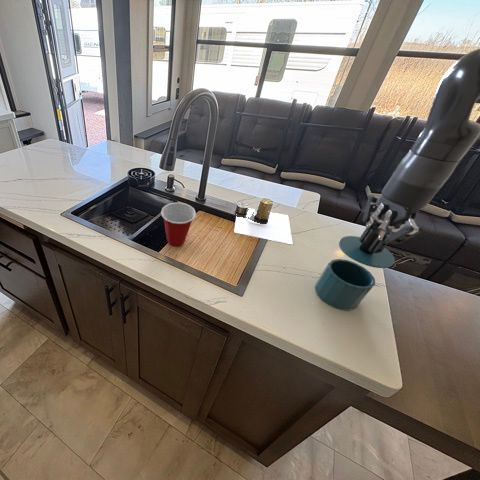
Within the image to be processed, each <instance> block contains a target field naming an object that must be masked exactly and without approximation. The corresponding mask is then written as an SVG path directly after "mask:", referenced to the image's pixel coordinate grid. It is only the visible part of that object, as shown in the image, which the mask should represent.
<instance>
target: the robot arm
mask: <svg viewBox="0 0 480 480" xmlns="http://www.w3.org/2000/svg"><path fill="white" fill-rule="evenodd" d="M476 104H480V48H476V49H474V50H472V51H470V52H468V53H466V54H464V55H462V56H461V57H460V58H459V59H458V60H457V61H455V62H454V63H453V64H452V65H451V66H450V67H449V69H448V70H447V71H446V72H445V73H444V75H443V76H442V78H441V80H440V82H439V84H438V86H437V88H436V91H435V95H434V97H433V101H432V104H431V107H430V110H429V113H428V115H427V119H426V123H425V126H424V128H423V129H422V131H421V132H420V133H419V136H418V137H417V139H416V140H415V142H414V143H413V144H412V146H411V148H410V149H409V150H408V152H407V153H406V155H405V156H404V157H403V158H402V159H401V161H400V162H399V164H398V165H397V167H396V168H395V170H394V171H393V173H392V174H391V176H390V177H389V179H388V181H387V182H386V184H384V187H383V188H382V190H381V195H380V196H376V195H375V196H373V195H372V196H371V195H370V196H369V197H368V198H367V201H366V204H365V209H364V214H363V217H362V222H363V223H366V224H365V229H364V230H363V232H362V234H361V235H360V236H359V237H360V240H359V241H360V242H361V243H362V242H363V241H364V239H365V238H366V236H367V235H368V233H369V232H370V230H371V229H372V228H379V229H381V232H380V234H379V236H378V238H376V239H375V241H374V242H373V244H372V245H371V246H370V248H369V249H368V251H369V252H370V253H380V252H382V251H383V249H384V248H386V247H387V246H388V244H392V245H399V244H403V243H404V242H406V241H408V240H410V239H412V238H413V237H415V236H417V235H420V233H423V230H424V228H423V227H422V226H420V225H419V226H417V223H416V221H415V220H416V218H417V217H418V216H417V215H418V212H419V211H421V209H423V208H426V207H427V206H428V205H429V203H430V202H431V201H432V200H433V199H434V197H435V196H436V194H437V193H438V192H440V190H441V188H442V187H443V186H444V184H445V183H446V182H447V181H448V180H449V178H450V177H451V176H452V174H453V173H454V171H455V169H456V168H457V166H458V164H459V163H460V162H461V160H462V159H463V158H464V157H465V155H466V154H467V153H468V151H469V150H470V149H471V147H472V146H473V145H474V144H475V142H476V141H477V139H478V138H479V137H480V123H479V122H476V121H474V120H472V119H470V118H471V115H472V112H473V109H474V107H475V105H476ZM371 213H372V214H371Z"/></svg>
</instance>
